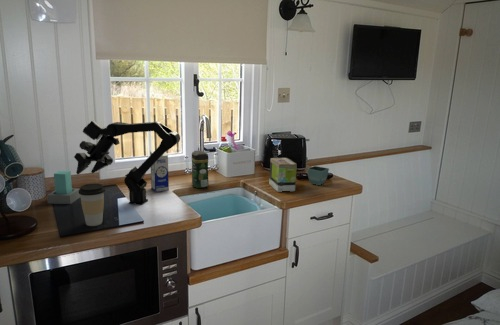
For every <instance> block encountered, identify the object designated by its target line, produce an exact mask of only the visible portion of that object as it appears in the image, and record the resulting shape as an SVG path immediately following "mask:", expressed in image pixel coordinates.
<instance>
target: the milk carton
mask: <svg viewBox="0 0 500 325" xmlns="http://www.w3.org/2000/svg"><path fill="white" fill-rule="evenodd" d="M155 150H156V149H152V150H149V156H150V155H151V154H152V153H153V152H154V151H155ZM169 181H170V180H169V155H168V153H167V151H166V152H165V153H164V154H163V155H162V156H161V157H160V158H159V159H158V160H157V161H156V162H155V163H154V164H153V165H152V167H151V168H150V185H151V190H152V191H154V192H155V193H159V192H160V193H161V192H165V191H169V190H170V188H169V187H170V186H169V185H170V183H169Z"/></svg>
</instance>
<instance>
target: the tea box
mask: <svg viewBox="0 0 500 325" xmlns="http://www.w3.org/2000/svg"><path fill="white" fill-rule="evenodd" d="M269 159H270V162H269V163H270V164H269V180H268V182H269V185H270V186H271V187H272V188H273V189H274V190H275V191H276V192H277V193H278V192H279V193H283V192H282V191H290V192H295V191H296V181H297V167H298V166H297V163H296V162H294V161H293V160H292V159H290V158H288V157H271V158H269Z"/></svg>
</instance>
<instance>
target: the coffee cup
mask: <svg viewBox="0 0 500 325" xmlns="http://www.w3.org/2000/svg"><path fill="white" fill-rule="evenodd" d="M79 189H80V190H79V194H80V203H81V208H82V213H83V217H84V221H85V225H86V226H89V227H96V226H100V225H101V224H103V220H104V219H103V218H104V216H103V215H104V205H105V204H104V203H105V202H104V201H105V196H104V195H105V194H104V192H106V189H105V187H104V186H103V184H101V183H87V184H83V185H80V188H79Z"/></svg>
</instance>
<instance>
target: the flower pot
mask: <svg viewBox="0 0 500 325" xmlns="http://www.w3.org/2000/svg"><path fill="white" fill-rule="evenodd" d="M329 170H330V168H329V167H328V168H327V167H323V166H317V165H315V166H311V167H309V168H307V177H308V180H309V183H310V184H311V183H312V184H311V185H313V184H317V185H316V186H318V185H320V186H322V185H324V184H325V182H326V181H327V179H328V174H329ZM323 183H324V184H323ZM321 184H322V185H321Z"/></svg>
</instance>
